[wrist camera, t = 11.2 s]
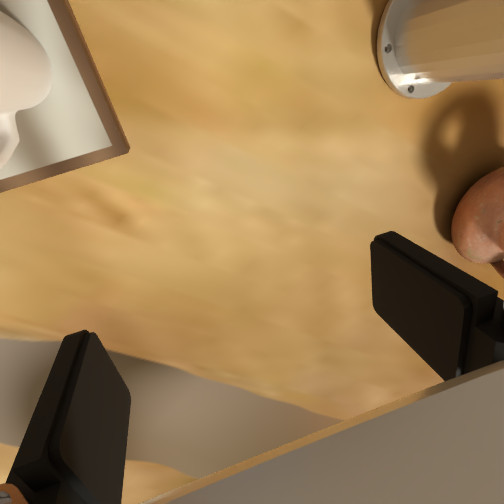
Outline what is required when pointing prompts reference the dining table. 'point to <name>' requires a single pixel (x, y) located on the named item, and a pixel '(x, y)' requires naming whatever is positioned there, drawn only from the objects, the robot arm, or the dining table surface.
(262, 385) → the dining table surface
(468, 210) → the ceramic jug
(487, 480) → the robot arm
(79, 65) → the walnut picture frame
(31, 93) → the mug
